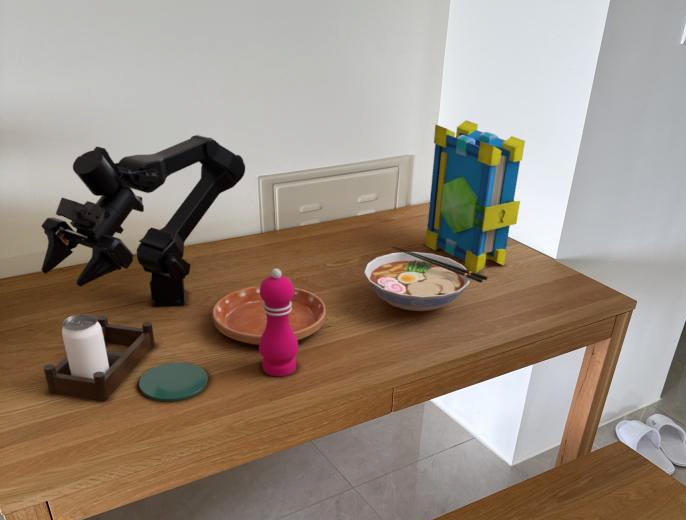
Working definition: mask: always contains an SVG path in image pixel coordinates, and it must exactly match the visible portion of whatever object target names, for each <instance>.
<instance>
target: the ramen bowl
mask: <svg viewBox="0 0 686 520" xmlns="http://www.w3.org/2000/svg"><path fill="white" fill-rule="evenodd" d="M391 248H392V249H394V250H395V251H399V252H392V253H387V254H384V255H380V256H377V257H376V258H374V259H373V260H371V261H370V262H368V263H367V265H366V266H365V270H364V275H365V276H366V279H367V281H368V282H369V284H370V286H371V288H372V289H373V291H374V292H375V294H376V295H377V296H378V297H379V298H380V299H382V300H383V301H384V302H386V303H388V304H389V305H391V306H393V307H395V308H399V309H402V310H406V311H411V312H412V311H413V312H425V311H426V312H427V311H433V310H436V309H440V308H443V307H446V306H448V305H449V304H452V302H453V301H455V300H456V299H457V298H458V297H459V296H460V295H461V294H462V293H463V292H464V291H465V290H466V289H467V287H468V286H469V284H470V281H471V280H472V281H475V282H478V283H481V284H482V283H483V280H484V281H488V276H486V275H483V274H480V273H478V272H477V273H474V272H472V271H470V270H468V269H467V268H465V267H464V266H465V265H463V264H461V263H459V262H457V261H455V260H453V259H451V258H449V257H445V256H442V255H438V254H434V253H429V252H428V253H427V252H417V251H410V250H406V249H403V248H401V247H396V246H391Z"/></svg>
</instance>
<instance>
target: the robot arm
mask: <svg viewBox="0 0 686 520" xmlns="http://www.w3.org/2000/svg"><path fill="white" fill-rule="evenodd" d="M197 163H200V165H201V167H200V179H199V180H198V181H197V183H196V184H195V186H193V188H192V189H191V191H190V193H188V195H187V196H186V197H185V199H184V200H183V202H182V203H181V204H180V206H179V207H178V208H177V210H176V211H175V212H174V213H173V214H172V216H171V218H170V219H169V220H168V222H167V223H166V224H165V225H164V226H163V227H162V228H160V229H159V228H155V227H149V229H148V230H147V231H146V233H145V234H144V236H143V237H142V238H141V239H139V240H138V242H139V245H138V246H137V248H136V258H137V262H138V263H139V265H140V266H141V267H142V269H143V270H144V272H145V273H150V274H151V277H150V279H149V288H150V295H151V300H153V306H154V307H161V306H167V307H168V306H185V305H186V300H187V299H186V298H187V290H186V289H185V287H186V286H185V279H186V276H188V275H190V271H191V264H190V263H189V262H188V261H187V260H185V259H184V258H183V257H184V253H185V242H186V240H187V239H188V238H189V236H191V234H192V233H193V231H194V229H195V228H196V227H197V225H198V224H199V222H200V221H201V220H202V219H203V217H204V216H205V214H206V213H207V212H208V210H209V209H210V208H211V206H212V205H213V204H214V203H215V201H216V199H217V198H218V197H219V195H220V194H221V193H224V192H226V191H228V190H230V189H233V188H234V187H236V185H237V184H238V183H239V182H240V181H241V180H242V179H243V177H244V176H245V173H246V164H245V162H244V159H243V157H242V156H241V155H239V154H236V153H234V152H233V151H231V150H229V149H227V148H226V147H224V146H223V145H221V144H220V143H219V142H217V141H216V140H215V139H214V138H213V137H210V136H206V135H205V136H204V135H200V134H195V135H192V136H191V137H190V138H188V139H186V140H183V141H181V142H179V143H177V144H176V143H175V144H174V145H172V146H169V147H167V148H165V149H162V150H160V151H157V152H155V153H151V154H133V155H127V156H123V157H122V158H120V159H119V161H118V162H115V161H113V159H112V158H111V156H110V154H109V152H108V151H107V149H106V148H105V147H101V146H95V147H94V149H92V150H88V151H86V152H84V153H83V154H81V155H80V156H79V155H78V156H77V157H76V158H75V160H74V161H73V164H72V171H73V172H74V173H75V174H76V176H77V177H78V178H79V180H80V181H81V182H82V183H83V184H84V185H85V186H86V188H87V189H88V190H89V192H90V193H91V194H92V195H93V196H96V197H99V199H98V200H97V201H96V202H92V201H89V200H87V201H86V202H85V203H81V202H79V201H75V200H72V199H68V198H65V197H61V198H60V201H59V203H58V206H57V209H56V211H55V215H57V216H59V217H62V218H65V219H67V220H70V222H69V223H70V224H68V223H67V221H66V220H63V219H59V218H57V217H47V218H46V219H45V220H44V222H43V223H42V224H41V226H40V227H41V228H42V229H43V233H44V234H45V235H46V237H47V247H46V248H47V249H46V253H45V256H44V259H43V263H42V266H41V269H40V270H41V272H42V273H43V274H45V275H46V274H48V273H50V272H51V271H52V270H53V269H55V268H56V267H57V266H59V265H60V264H61V263H63V261H64V260H66V259H67V258H68V257H69V256H71V255H72V254H73V253H74V251H73V249H75V248H77V247H78V246H79V245H81V246H84V247H86V248H90V249H92V250H91V257H90V259H89V261H87V263H86V265H85V267H84V268H83V269H82V271H81V272H80V274H79V276H78V278H77V280H76V282H75V283H76V285H77V286H78V287H83V286H85V285H86V284H89V283H91V282H93V281H95V280H98V279H99V278H101V277H103V276H105V275H108V274H110V273H112V272H115V271H121V270H122V269H123V268H124V269H127V270H128V269H129V267H130V266H131V264H132V263H133V261H134V254H133V253H132V251H131V250H130V249H129V247H128V246H127V245H126V244H125V243H124V242H123V240H122V239H121V238H118V237H115V234H119V235H120V234H123V232H124V230H125V229H124V228H123V227H122V225H123V224H124V222H125V221H126V220H127V218H128V217H129V216H130V214H131V212H132V211H133V210H134V211H137V212H140V213H144V211H145V209H144V208H145V205H144V203H143V197H142V196H139V195H137V194H136V193H135V192H134V190H136V191H139V192H142V193H146V194H150V193H151V194H152V193H153V192H155V191H156V190H158V189H159V188H161V186H163V185H164V184H165V182H166V180H167V178H168V177H169V176H171V175H172V174H175V173H178V172H180V171H182V170H184V169H186V168H188V167H190V166H192V165H194V164H197ZM70 225H71V226H72V227H73V228H74V229H76V231H75V230H74V229H73V228H72V227H71V226H70Z"/></svg>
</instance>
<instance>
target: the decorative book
mask: <svg viewBox="0 0 686 520" xmlns="http://www.w3.org/2000/svg"><path fill="white" fill-rule="evenodd" d="M525 143H526V140H523V139H521V138H518V137H515V136H510V137H509V138H507V139H506V140H505V139H502V138H500V137H499V136H498V135H497V134H495V133H491V132H489V131H480V130H478V123H475V122H472V121H470V120H466V119H465V120H464V121H463V122H462V123H460V124H459V125H458V126H457V127H456V132H455V131H453V130H451V129H449V128H447V127H444V126H442V125H438V124H435V126H434V135H433V144H434V152H433V153H434V155H433V165H432V175H431V176H432V177H431V185H430V197H429V208H428V217H427V218H428V219H427V228H426V232H425V242H424V243H425V244H424V245H425V246H426V247H428V248H429V249H431V250H433V251H436V252H437V250H438V249H442V250H443V251H444V252H445V253H448V254H449V255H450V256H453V257H455V258H458V259H459V260H461V261H463V262H464V265H463V266H464V267H465V268H466V270H468V271H471V272H474V273H477V274H478V273H479V272H480V271H481V270H482V269H484V268H485V267H486V260H487V259H489V260H491V261H493V262H495V263H496V264H499V265H502V266H505V262H506V256H507V245H508V240H509V233H510V227H511V226H514V225H517V223H518V216H519V210H520V204H521V200H515V195H516V188H517V184H518V183H517V182H518V177H519V169H520V165H521V164H520V163H521V161H523V156H524V150H525Z"/></svg>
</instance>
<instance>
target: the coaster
mask: <svg viewBox="0 0 686 520" xmlns="http://www.w3.org/2000/svg"><path fill="white" fill-rule="evenodd" d="M208 376H209V375H208V374H207V371H205V370H204V369H203V368H202V367H201V366H199V365H196V364H193V363H189V362H168V363H163V364H159V365H157V366H154V367H152V368H150V369H148V370H147V371H145V372H144V373H143V374H142V375H141V376H140V378H139V381H138V386H139V391H140V392H141V394H142V395H144V396H145V397H146V398H148V399H151V400H153V401H159V402H179V401H184V400H188V399H190V398H193V397H195V396H197V395H198V394H200V393H202V392H203V391H204V389H206V388H207V385H208V383H209V382H208V381H209V379H208V378H209V377H208Z"/></svg>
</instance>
